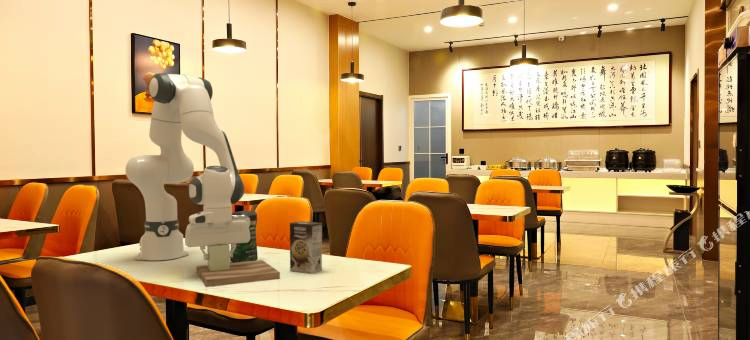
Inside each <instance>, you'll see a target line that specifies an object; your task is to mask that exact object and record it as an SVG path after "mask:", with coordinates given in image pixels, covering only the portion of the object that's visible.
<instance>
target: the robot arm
mask: <svg viewBox="0 0 750 340" xmlns="http://www.w3.org/2000/svg"><path fill="white" fill-rule="evenodd" d="M148 92H149V96H150V98H152V99H151V100H152V101H154V103H153V106H152V112H151V117H150V125H149V133H148V134H149V135H148V136H149V139H150V141H151V142H152V143H153V144H155V145H156V146H158V147H159V149H160V154H159V155H158V154H142V155H138V156H134V157H131V158H130V159H128V161H127V163H126V166H125V170H124V171H125V175H126V178H127V179H128V181H130V183H132V184H134V186H136V187H137V188H138V190H139V191H140V193H141V195H142V196H143V200H144V206H145V221H144V231H145V232H144V234H143V235H142V236H141V237H140V239H139V250H140V252H139V253H138V254H137V255H136V256H135V258H134V259H135V260H138V261H140V260H141V261H142V260H143V261H167V260H172V259H173V260H174V259H178V258H182V257H186V256H189V252H188V251H186V250H185V249H184V245H185V246H186V247H187V248H198V247H199V250H200V251H201V252H202V254H203V260H204V261H207V260H209V254H207V253H206V251H205V250H206V247H207V246H212V245H219V244H221V245H225V244H229V245H230V258H233V252H234V250H235V248H236V244H238V243H248V242H249V241H250V231H249V226H250V218H249V217H248V216H246V215H232V213H233V209H232V207H233V205H235V204H237V203H238V202H239V201H240V200H241V199H242V198H243V196H244V194H245V183H244V182H243V180H242V178H241V175H240V174H239V170H238V167H237V163H236V162H235V158H234V154H233V152H232V148H231V145H230V142H229V140H228V137H227V134H226V132H225V131H223V130H221V128H219V126H218V124H217V123H216V119H215V117H214V116H215V115H214V110H213V106H212V105H213V104H212V102H211V101H212V98H213V94H214V93H213V87H212V83H211V82H210V81H209V80H207V79H205V78H203V77H196V76H192V75H188V74H177V73H169V74H168V73H166V72H162V73H155V74H153V76H152V77H151V78H150V81H149V84H148ZM182 134H183V135H184V136H185V137H186V138H188V139H189V140H190V141H192V142H194V143H196V144H199V145H202V146H205V147H207V148H209V149H210V150H212V151H213V152H214V153H215V155H216V156H217V159H218V162H219V165H209V166H206V167H205V168H204V170H203V172H202V173H201V174H199V175H198V176H194V177H193V175H194V170H195V168H194V163H193V161H192V160H191V159H190V158H189V156H188V155H187V154H186V153H185V151H184V148H183V146H182ZM192 177H193V178H192ZM189 180H190V181H189ZM188 181H189V183H188V185H187V195H188V199H190V200H191V202H192V203H194V204H196V205H203V207H202V209H203V211H200V212H197V213H194V214H191V215H190V216H189V215H188V216H189V217H188V222H189V224H187V226H186V229H185V233H184V234H185V235H184V234H183V233H182V232H181V231H180V230H179V229H180V227H179V226H180V223H179V219H178V201H177V199H176V198H175V196H174V195H171V194H170V193H168V192H167V191H166V189H165V186H164V184H165V185H166V184H180V183H183V182H188ZM246 217H247V218H246ZM231 247H232V248H231Z"/></svg>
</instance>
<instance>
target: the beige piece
mask: <svg viewBox="0 0 750 340" xmlns="http://www.w3.org/2000/svg"><path fill="white" fill-rule="evenodd" d="M206 249H207V250H206V251H207V253H206V254H209V260H206V262H207V265H208V269H209V270H210V271H216V270H226V269H230V263H231V261H230V250H231V244H225V245H221V244H219V245H212V246H206Z"/></svg>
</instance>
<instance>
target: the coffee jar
mask: <svg viewBox="0 0 750 340" xmlns="http://www.w3.org/2000/svg"><path fill="white" fill-rule="evenodd" d="M232 215H246V216H248V217H249V218H250V226H249V231H250V241H249V242H248V243H238V244H236V248H235V250H234V252H233V258H230V263H235V262H245V261H256V260H258V245H257V224H258V213H257V212H256V211H255V210H241V211H240V210H239V211H234V212H233V211H232ZM246 218H247V217H246ZM231 248H232V247H231V246H230V249H231Z"/></svg>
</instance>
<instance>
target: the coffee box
mask: <svg viewBox="0 0 750 340" xmlns="http://www.w3.org/2000/svg"><path fill="white" fill-rule="evenodd" d="M322 250H323V223H322V222H316V221H315V222H313V221H302V220H301V221H294V222H293V221H292V222H290V223H289V259H290V260H289V270H290V271H291V272H297V273H306V274H315V273H317V272H320V271H322V270H323V251H322Z"/></svg>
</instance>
